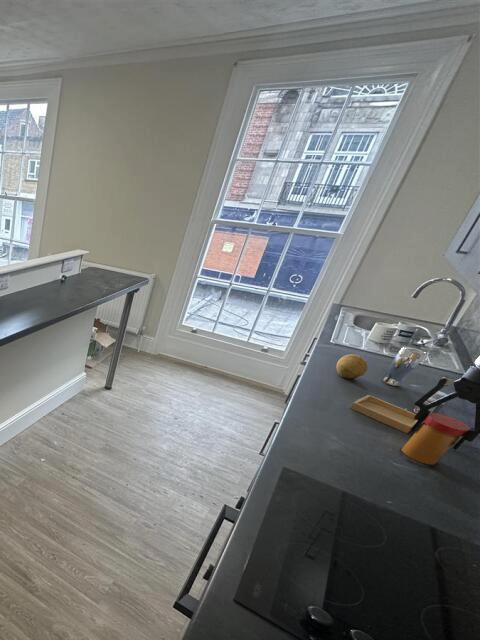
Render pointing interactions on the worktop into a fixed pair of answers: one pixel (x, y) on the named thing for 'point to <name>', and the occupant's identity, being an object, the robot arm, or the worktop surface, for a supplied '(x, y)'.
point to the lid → (446, 424)
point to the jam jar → (428, 444)
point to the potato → (351, 366)
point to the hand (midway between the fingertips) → (433, 438)
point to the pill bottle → (432, 399)
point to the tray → (385, 413)
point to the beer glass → (403, 365)
